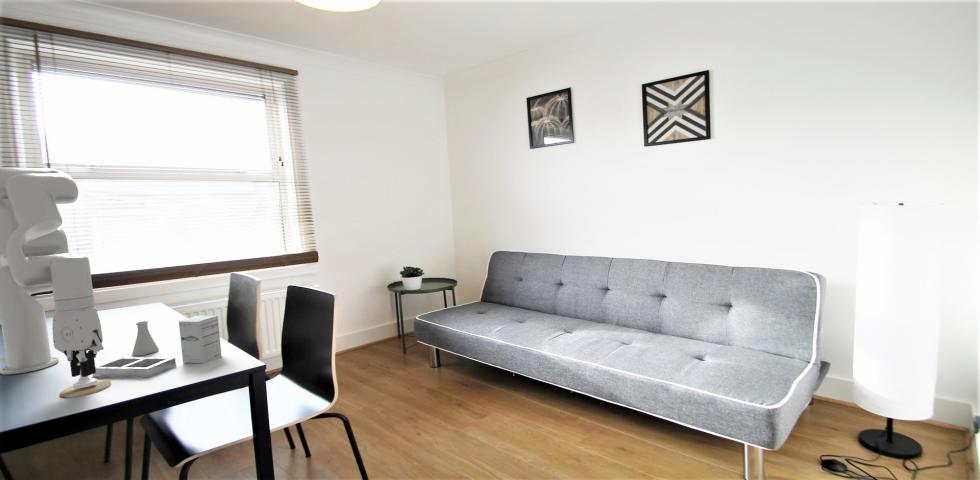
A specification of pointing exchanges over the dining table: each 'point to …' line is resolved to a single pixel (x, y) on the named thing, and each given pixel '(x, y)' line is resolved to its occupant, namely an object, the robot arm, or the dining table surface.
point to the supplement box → (200, 339)
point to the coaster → (85, 389)
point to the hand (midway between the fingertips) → (83, 374)
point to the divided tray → (134, 367)
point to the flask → (144, 341)
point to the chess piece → (83, 378)
